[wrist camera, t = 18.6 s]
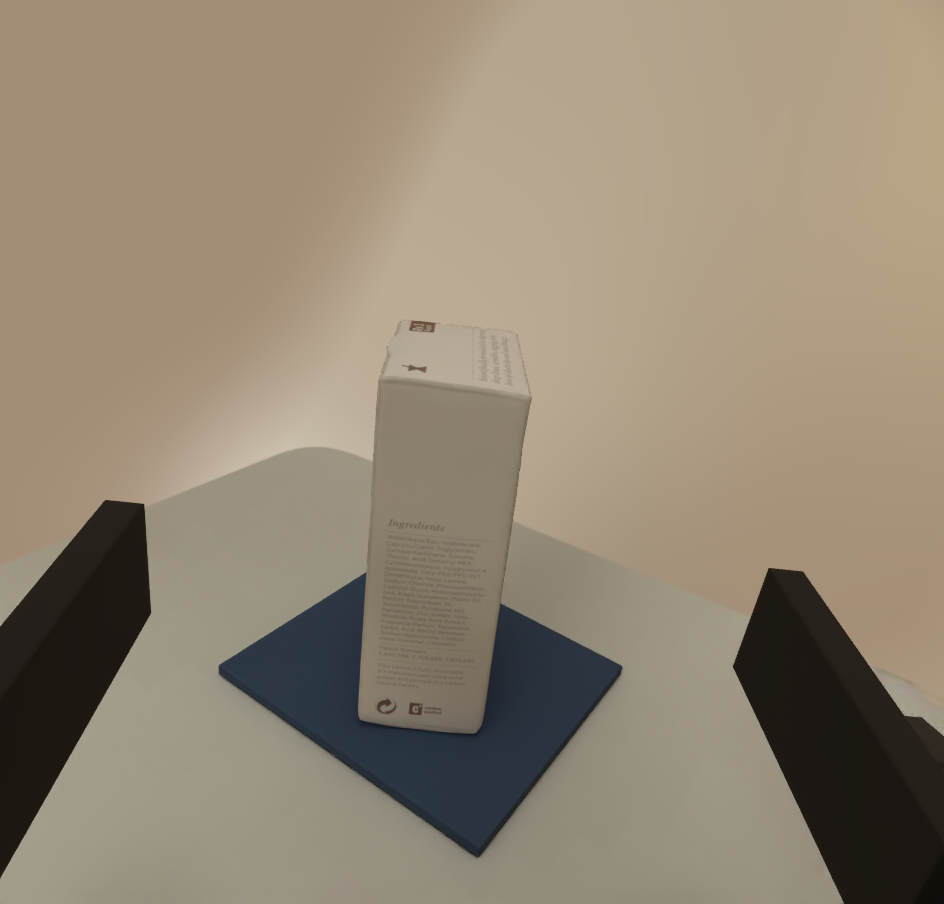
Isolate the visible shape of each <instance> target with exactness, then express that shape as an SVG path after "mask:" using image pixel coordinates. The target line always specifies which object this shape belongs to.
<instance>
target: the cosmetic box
mask: <svg viewBox="0 0 944 904" xmlns="http://www.w3.org/2000/svg"><path fill="white" fill-rule="evenodd" d="M530 404H531V393H530V389H529V385H528V380H527V376H526V372H525V367H524V363H523V358H522V354H521V350H520V344H519V340H518V335H517V334H516V333H514V332H509V331H504V330H497V329H489V328H479V327H468V326H458V325H448V324H441V323H431V322H422V321H409V320H402V321H400V322H399V323H398V325H397V328H396V331H395V334H394V337H393V338H392V339H391V340H390V341H389V342H388V345H387V357H386V359H385V362H384V365H383V368H382V372H381V375H380V378H379V382H378V395H377V407H376V422H375V423H376V424H375V436H374V437H375V438H374V453H373V476H372V492H371V511H370V528H369V542H368V558H367V574H366V589H365V604H364V620H363V636H362V650H361V665H360V684H359V701H358V716H359V718H360V720H362V721H366V722H371V723H377V724H382V725H388V726H395V727H402V728H414V729H424V730H431V731H432V730H433V731H440V732H452V733H466V734H475V733H477V731H478V730H479V729H480V727H481V725H482V722H483V716H484V710H485V704H486V697H487V691H488V683H489V676H490V669H491V662H492V655H493V648H494V641H495V634H496V628H497V621H498V614H499V608H500V602H501V596H502V589H503V582H504V576H505V569H506V562H507V555H508V549H509V542H510V536H511V528H512V521H513V514H514V508H515V502H516V495H517V486H518V478H519V471H520V466H521V456H522V447H523V441H524V435H525V430H526V425H527V419H528V413H529V408H530Z"/></svg>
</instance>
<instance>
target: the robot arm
mask: <svg viewBox="0 0 944 904" xmlns="http://www.w3.org/2000/svg"><path fill="white" fill-rule="evenodd" d="M150 614H151V603H150V588H149V572H148V556H147V540H146V524H145V509H144V504H140V503H130V502H120V501H109V500H105V501H104V502H103V503H102V505H101V506H100V507H99V508H98V510H97V511H96V512H95V513H94V514H93V516H92V517H91V518H90V519H89V520H88V521H87V523H86V524H85V525H84V526H83V528H82V529H81V530H80V531H79V532H78V533H77V535H76V536H75V537H74V538H73V540H72V541H71V542H70V543H69V544H68V546H67V547H66V548H65V549H64V550H63V552H62V553H61V554H60V555H59V556H58V558H57V559H56V560H55V561H54V562H53V564H52V565H51V566H50V567H49V568H48V570H47V571H46V572H45V573H44V574H43V576H42V577H41V578H40V579H39V581H38V582H37V583H36V584H35V585H34V587H33V588H32V589H31V590H30V591H29V593H28V594H27V595H26V596H25V597H24V599H23V600H22V601H21V602H20V603H19V605H18V606H17V607H16V608H15V609H14V611H13V612H12V613H11V614H10V615H9V617H8V618H7V619H6V620H5V621H4V623H3V624H2V625H1V626H0V878H1V876H2V874H3V872H4V871H5V869H6V867H7V865H8V864H9V862H10V860H11V858H12V857H13V855H14V853H15V851H16V850H17V848H18V846H19V844H20V843H21V841H22V839H23V837H24V836H25V834H26V832H27V830H28V829H29V827H30V825H31V823H32V821H33V820H34V818H35V816H36V814H37V813H38V811H39V809H40V807H41V806H42V804H43V802H44V800H45V799H46V797H47V795H48V793H49V792H50V790H51V788H52V786H53V785H54V783H55V781H56V779H57V778H58V776H59V774H60V772H61V771H62V769H63V767H64V765H65V763H66V762H67V760H68V758H69V756H70V755H71V753H72V751H73V749H74V748H75V746H76V744H77V742H78V741H79V739H80V737H81V735H82V734H83V732H84V730H85V728H86V727H87V725H88V723H89V721H90V720H91V718H92V716H93V714H94V713H95V711H96V709H97V707H98V705H99V704H100V702H101V700H102V698H103V697H104V695H105V693H106V691H107V690H108V688H109V686H110V684H111V683H112V681H113V679H114V677H115V676H116V674H117V672H118V670H119V669H120V667H121V665H122V663H123V662H124V660H125V658H126V656H127V655H128V653H129V651H130V649H131V647H132V646H133V644H134V642H135V640H136V639H137V637H138V635H139V633H140V632H141V630H142V628H143V626H144V625H145V623H146V621H147V619H148V618H149V616H150ZM733 668H734V670H735V672H736V674H737V677H738V679H739V681H740V683H741V685H742V687H743V689H744V691H745V694H746V696H747V698H748V700H749V702H750V704H751V706H752V708H753V711H754V713H755V715H756V717H757V719H758V721H759V723H760V725H761V728H762V730H763V732H764V734H765V736H766V738H767V740H768V742H769V745H770V747H771V749H772V751H773V753H774V755H775V757H776V759H777V762H778V764H779V766H780V768H781V770H782V772H783V774H784V777H785V779H786V781H787V783H788V785H789V787H790V789H791V791H792V794H793V796H794V798H795V800H796V802H797V804H798V806H799V808H800V811H801V813H802V815H803V817H804V819H805V821H806V823H807V825H808V828H809V830H810V832H811V834H812V836H813V838H814V840H815V842H816V845H817V847H818V849H819V851H820V853H821V855H822V857H823V859H824V862H825V864H826V866H827V868H828V870H829V872H830V874H831V877H832V879H833V881H834V883H835V885H836V887H837V889H838V891H839V894H840V896H841V898H842V900H843V902H844V904H944V736H943V735H942V734H940V733H939V732H938V731H937V730H936V729H935V728H933V727H932V726H931V725H930V724H929V723H927V722H926V721H925V720H924V719H923V718H921V717H910V716H904V715H903V713H902V712H901V711H900V709H899V708H898V706H897V705H896V703H895V702H894V701H893V699H892V698H891V696H890V695H889V693H888V692H887V691H886V689H885V688H884V686H883V685H882V683H881V682H880V681H879V679H878V678H877V676H876V675H875V673H874V672H873V671H872V669H871V668H870V666H869V665H868V664H867V662H866V661H865V659H864V658H863V656H862V655H861V654H860V652H859V651H858V649H857V648H856V646H855V645H854V644H853V642H852V641H851V639H850V638H849V637H848V635H847V634H846V632H845V631H844V629H843V628H842V626H841V625H840V624H839V622H838V621H837V619H836V618H835V617H834V615H833V614H832V612H831V611H830V609H829V608H828V607H827V605H826V604H825V602H824V601H823V599H822V598H821V597H820V595H819V594H818V592H817V591H816V589H815V588H814V587H813V585H812V584H811V582H810V581H809V579H808V578H807V577H806V575H805V574H804V572H802V571H793V570H782V569H773V568H769V569H768V572H767V574H766V577H765V580H764V583H763V586H762V588H761V591H760V594H759V596H758V599H757V602H756V605H755V607H754V610H753V613H752V616H751V618H750V621H749V624H748V626H747V629H746V632H745V635H744V637H743V640H742V643H741V646H740V648H739V651H738V654H737V657H736V659H735V662H734V665H733Z"/></svg>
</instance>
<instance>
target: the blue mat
mask: <svg viewBox="0 0 944 904" xmlns="http://www.w3.org/2000/svg"><path fill="white" fill-rule="evenodd" d="M366 574H367V572H366V573H364V574H363V575H361V576H360V577H358V578H357V579H355V580H353V581H352V582H350V583H349V584H347V585H345V586H344V587H342V588H341V589H339V590H338V591H336V592H334V593H333V594H331V595H330V596H328V597H326V598H325V599H323V600H322V601H320V602H319V603H317V604H315V605H314V606H312V607H311V608H309V609H307V610H306V611H304V612H303V613H301V614H300V615H298V616H296V617H295V618H293V619H292V620H290V621H288V622H287V623H285V624H284V625H282V626H281V627H279V628H277V629H276V630H274V631H273V632H271V633H269V634H268V635H266V636H265V637H263V638H261V639H260V640H258V641H257V642H255V643H254V644H252V645H250V646H249V647H247V648H246V649H244V650H242V651H241V652H239V653H238V654H236V655H235V656H233V657H231V658H230V659H228V660H227V661H225V662H223V663H222V664H220V665H219V674H220V675H222V676H223V677H224V678H226V679H227V680H229V681H230V682H231V683H233V684H234V685H236V686H237V687H238V688H240V689H241V690H243V691H244V692H246V693H247V694H248V695H250V696H251V697H253V698H254V699H255V700H257V701H258V702H260V703H261V704H262V705H264V706H265V707H267V708H268V709H270V710H271V711H272V712H274V713H275V714H277V715H278V716H279V717H281V718H282V719H284V720H285V721H286V722H288V723H289V724H291V725H292V726H294V727H295V728H296V729H298V730H299V731H301V732H302V733H303V734H305V735H306V736H308V737H309V738H310V739H312V740H313V741H315V742H316V743H318V744H319V745H320V746H322V747H323V748H325V749H326V750H327V751H329V752H330V753H332V754H333V755H334V756H336V757H337V758H339V759H340V760H342V761H343V762H344V763H346V764H347V765H349V766H350V767H351V768H353V769H354V770H356V771H357V772H358V773H360V774H361V775H363V776H364V777H366V778H367V779H368V780H370V781H371V782H373V783H374V784H375V785H377V786H378V787H380V788H381V789H382V790H384V791H385V792H387V793H388V794H390V795H391V796H392V797H394V798H395V799H397V800H398V801H399V802H401V803H402V804H404V805H405V806H406V807H408V808H409V809H411V810H412V811H414V812H415V813H416V814H418V815H419V816H421V817H422V818H423V819H425V820H426V821H428V822H429V823H430V824H432V825H433V826H435V827H436V828H438V829H439V830H440V831H442V832H443V833H445V834H446V835H447V836H449V837H450V838H452V839H453V840H454V841H456V842H457V843H459V844H460V845H462V846H463V847H464V848H466V849H467V850H469V851H470V852H471V853H473V854H474V855H476V856H477V857H478V856H479V855H480V854H481V853H482V851H483V850H484V849H485V847H486V846H487V845H488V844H489V842H490V841H491V840H492V838H493V837H494V836H495V835H496V833H497V832H498V831H499V829H500V828H501V827H502V826H503V824H504V823H505V822H506V820H507V819H508V818H509V817H510V815H511V814H512V813H513V811H514V810H515V809H516V808H517V806H518V805H519V804H520V802H521V801H522V800H523V799H524V797H525V796H526V795H527V793H528V792H529V791H530V790H531V788H532V787H533V786H534V784H535V783H536V782H537V781H538V779H539V778H540V777H541V775H542V774H543V773H544V772H545V770H546V769H547V768H548V766H549V765H550V764H551V762H552V761H553V760H554V759H555V757H556V756H557V755H558V753H559V752H560V751H561V750H562V748H563V747H564V746H565V744H566V743H567V742H568V741H569V739H570V738H571V737H572V735H573V734H574V733H575V732H576V730H577V729H578V728H579V726H580V725H581V724H582V723H583V721H584V720H585V719H586V717H587V716H588V715H589V714H590V712H591V711H592V710H593V708H594V707H595V706H596V705H597V703H598V702H599V701H600V699H601V698H602V697H603V696H604V694H605V693H606V692H607V690H608V689H609V688H610V687H611V685H612V684H613V683H614V681H615V680H616V679H617V677H618V676H619V675H620V674H621V670H622V666H621V665H619V664H617V663H615V662H613V661H611V660H609V659H607V658H605V657H603V656H602V655H600V654H598V653H596V652H594V651H592V650H590V649H588V648H586V647H584V646H582V645H580V644H578V643H576V642H574V641H572V640H570V639H569V638H567V637H565V636H563V635H561V634H559V633H557V632H555V631H553V630H551V629H549V628H547V627H545V626H543V625H541V624H539V623H538V622H536V621H534V620H532V619H530V618H528V617H526V616H524V615H522V614H520V613H518V612H516V611H514V610H512V609H510V608H508V607H506V606H505V605H503V604H501V603H500V608H499V614H498V621H497V628H496V634H495V641H494V648H493V655H492V662H491V669H490V676H489V683H488V691H487V697H486V704H485V710H484V716H483V722H482V725H481V727H480V729H479V730H478V731H477V733H475V734H466V733H452V732H440V731H433V730H432V731H431V730H424V729H414V728H402V727H395V726H388V725H382V724H377V723H371V722H366V721H362V720H360V718H359V716H358V701H359V684H360V665H361V650H362V636H363V620H364V604H365V589H366Z"/></svg>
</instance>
